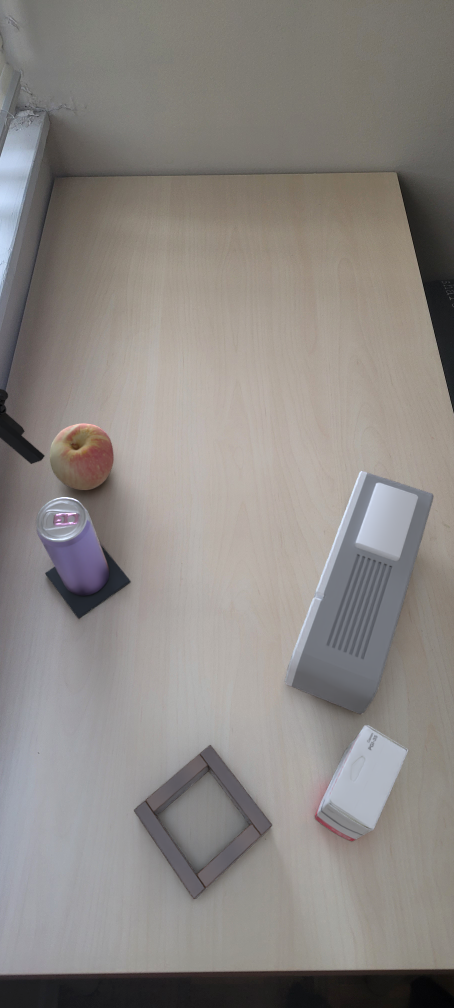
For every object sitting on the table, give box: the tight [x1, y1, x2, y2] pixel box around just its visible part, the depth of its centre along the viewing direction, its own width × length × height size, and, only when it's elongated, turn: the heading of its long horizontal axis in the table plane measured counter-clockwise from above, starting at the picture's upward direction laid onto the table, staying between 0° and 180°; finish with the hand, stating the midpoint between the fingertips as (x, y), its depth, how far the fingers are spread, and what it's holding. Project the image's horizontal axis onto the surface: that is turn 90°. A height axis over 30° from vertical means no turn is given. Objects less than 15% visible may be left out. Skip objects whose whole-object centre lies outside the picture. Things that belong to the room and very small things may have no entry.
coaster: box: [44, 543, 131, 620], centre depth 83 cm, size 8×8×1 cm
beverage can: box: [35, 497, 109, 596], centre depth 77 cm, size 6×6×15 cm
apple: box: [49, 423, 115, 491], centre depth 89 cm, size 9×9×8 cm
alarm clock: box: [284, 470, 434, 715], centre depth 76 cm, size 27×9×12 cm, turn 157°
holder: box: [133, 744, 273, 900], centre depth 67 cm, size 10×10×4 cm
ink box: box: [314, 724, 409, 842], centre depth 65 cm, size 9×5×12 cm, turn 148°
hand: (5, 505), depth 72 cm, fingers open, 13 cm apart
